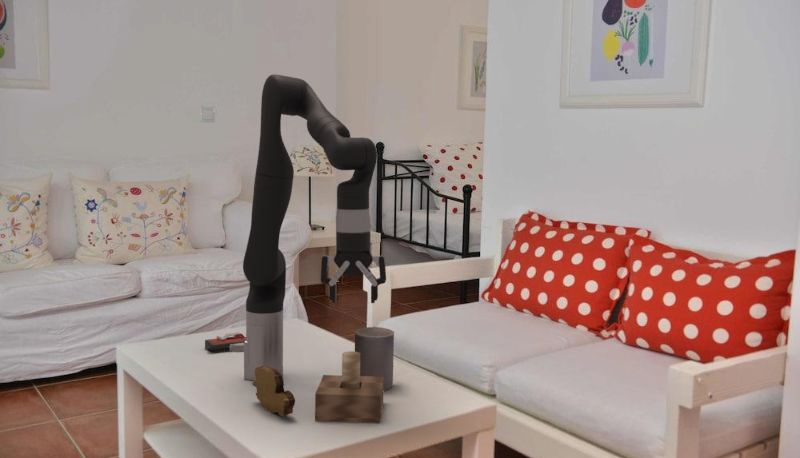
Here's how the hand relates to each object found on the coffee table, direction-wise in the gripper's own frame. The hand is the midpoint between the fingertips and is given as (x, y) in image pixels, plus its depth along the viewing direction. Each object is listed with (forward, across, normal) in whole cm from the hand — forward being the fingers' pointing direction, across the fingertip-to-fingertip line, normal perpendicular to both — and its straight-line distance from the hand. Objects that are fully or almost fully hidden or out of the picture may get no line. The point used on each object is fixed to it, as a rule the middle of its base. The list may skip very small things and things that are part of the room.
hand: (353, 302), depth 179 cm
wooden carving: (+24, -18, -2) cm, 30 cm away
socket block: (+24, -1, -1) cm, 25 cm away
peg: (+23, -1, -1) cm, 23 cm away
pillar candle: (+25, +3, +18) cm, 31 cm away
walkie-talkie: (+24, -38, +50) cm, 67 cm away
